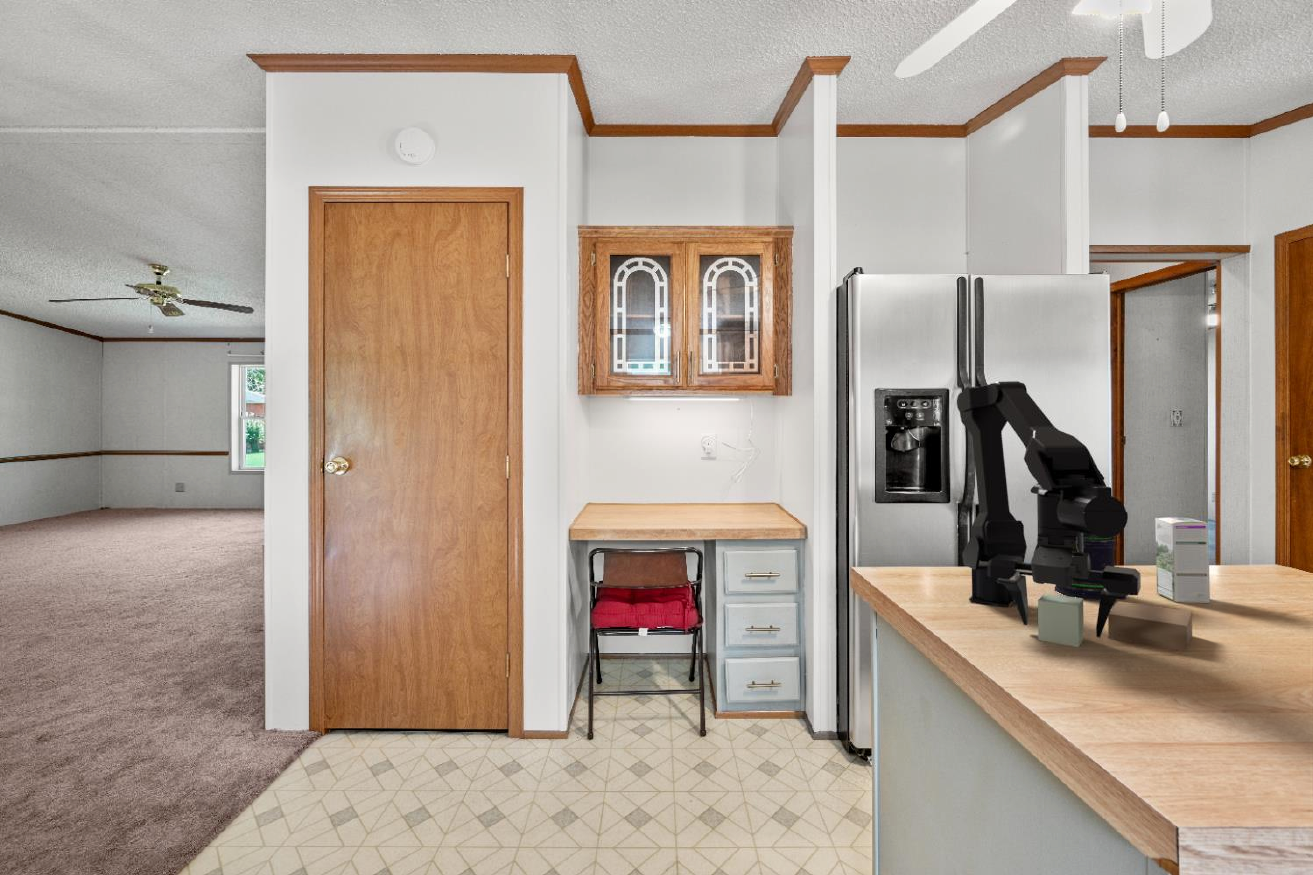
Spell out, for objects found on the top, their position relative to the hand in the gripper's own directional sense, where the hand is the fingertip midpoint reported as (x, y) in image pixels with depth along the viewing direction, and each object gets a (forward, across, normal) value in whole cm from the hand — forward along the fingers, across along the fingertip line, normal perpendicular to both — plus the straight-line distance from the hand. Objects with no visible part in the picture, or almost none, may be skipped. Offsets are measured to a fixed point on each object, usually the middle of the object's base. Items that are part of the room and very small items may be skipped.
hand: (1061, 630), depth 93 cm
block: (+2, +10, +9) cm, 14 cm away
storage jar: (+1, -1, +32) cm, 32 cm away
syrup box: (+1, +13, +38) cm, 40 cm away
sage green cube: (+1, 0, 0) cm, 1 cm away
